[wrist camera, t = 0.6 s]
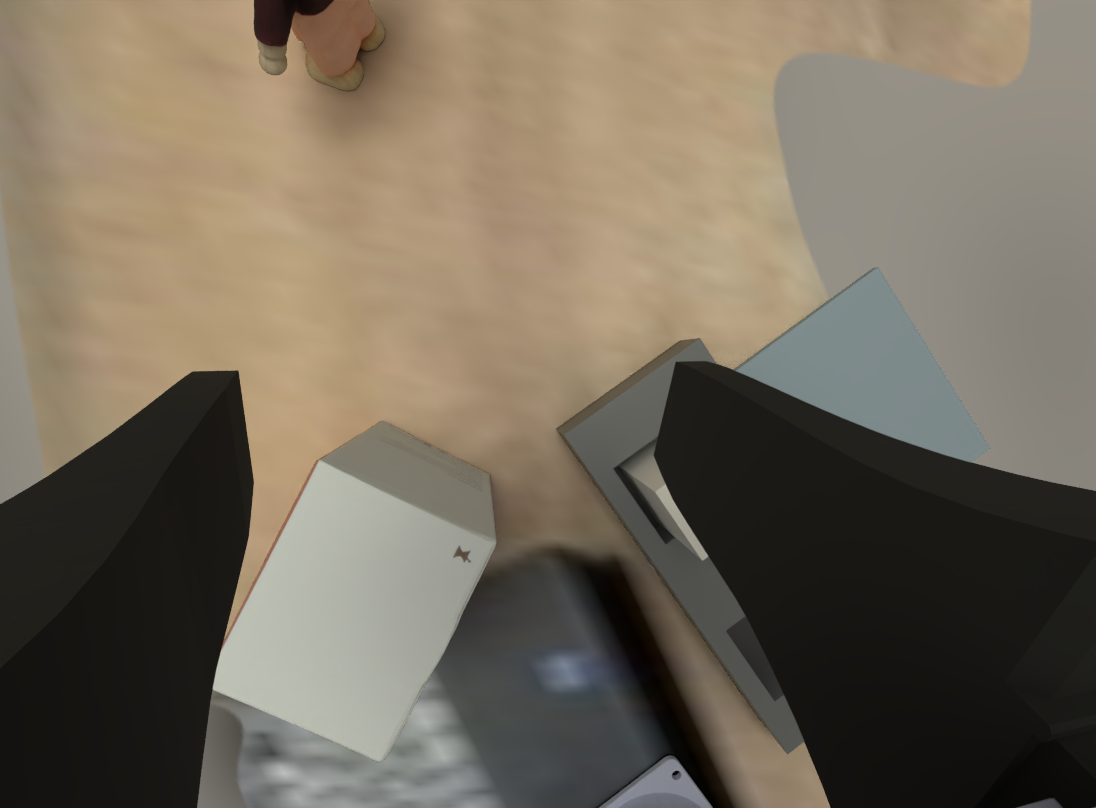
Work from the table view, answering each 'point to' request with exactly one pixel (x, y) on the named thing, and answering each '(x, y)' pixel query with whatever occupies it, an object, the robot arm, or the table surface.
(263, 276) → the table surface
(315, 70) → the grandmother figurine
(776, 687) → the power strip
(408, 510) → the small box
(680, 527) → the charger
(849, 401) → the mat
